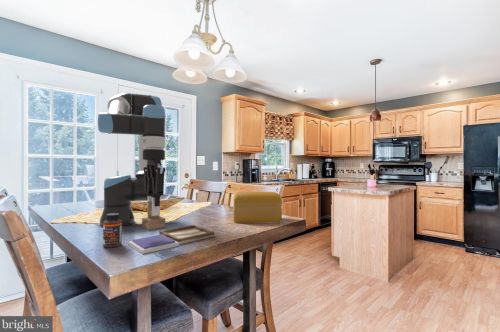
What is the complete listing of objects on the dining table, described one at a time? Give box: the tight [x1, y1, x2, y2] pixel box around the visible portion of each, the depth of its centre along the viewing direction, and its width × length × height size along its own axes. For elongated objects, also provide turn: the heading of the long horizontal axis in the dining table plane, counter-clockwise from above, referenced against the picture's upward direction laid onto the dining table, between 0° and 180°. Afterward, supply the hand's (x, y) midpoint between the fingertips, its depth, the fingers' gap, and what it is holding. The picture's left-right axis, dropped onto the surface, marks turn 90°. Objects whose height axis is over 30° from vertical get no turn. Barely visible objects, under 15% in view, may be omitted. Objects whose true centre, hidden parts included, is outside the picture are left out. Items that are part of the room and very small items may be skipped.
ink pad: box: [127, 234, 180, 255], centre depth 94 cm, size 13×13×2 cm
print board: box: [158, 224, 215, 245], centre depth 106 cm, size 16×16×2 cm
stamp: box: [141, 200, 166, 232], centre depth 94 cm, size 6×6×10 cm
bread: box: [232, 191, 283, 224], centre depth 137 cm, size 24×13×15 cm, turn 95°
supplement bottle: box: [102, 213, 123, 249], centre depth 93 cm, size 6×6×11 cm
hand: (153, 214), depth 94 cm, fingers closed on stamp, 3 cm apart
